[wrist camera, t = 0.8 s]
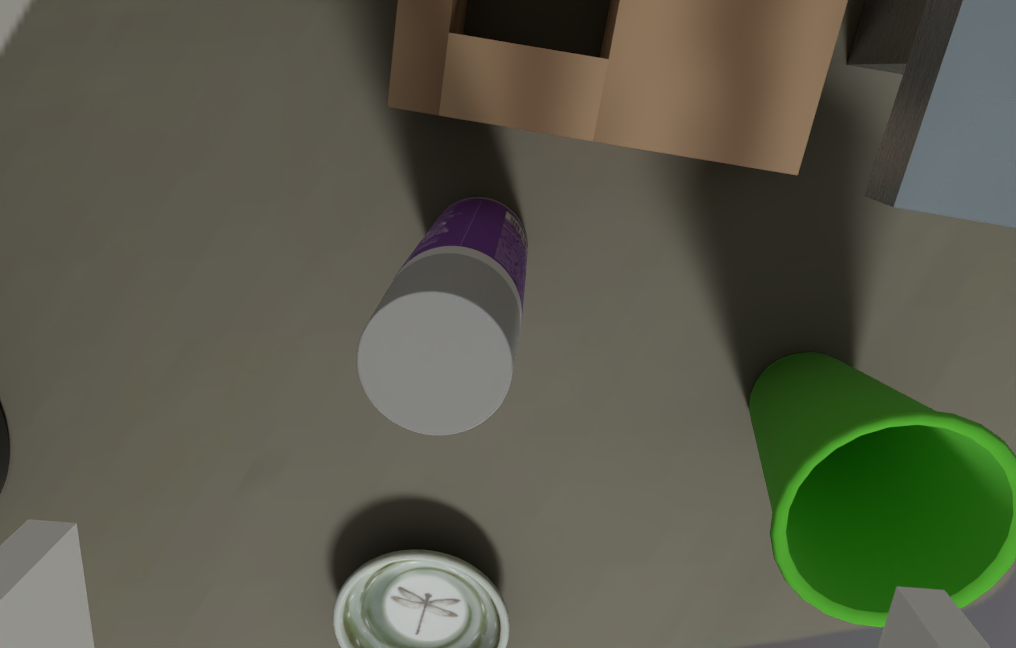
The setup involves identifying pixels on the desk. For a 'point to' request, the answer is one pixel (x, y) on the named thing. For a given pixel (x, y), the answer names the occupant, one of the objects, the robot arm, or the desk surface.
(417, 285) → the container
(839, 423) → the cup
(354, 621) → the saucer
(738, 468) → the desk surface
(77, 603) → the robot arm
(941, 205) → the grey flat-topped post
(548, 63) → the socket block
